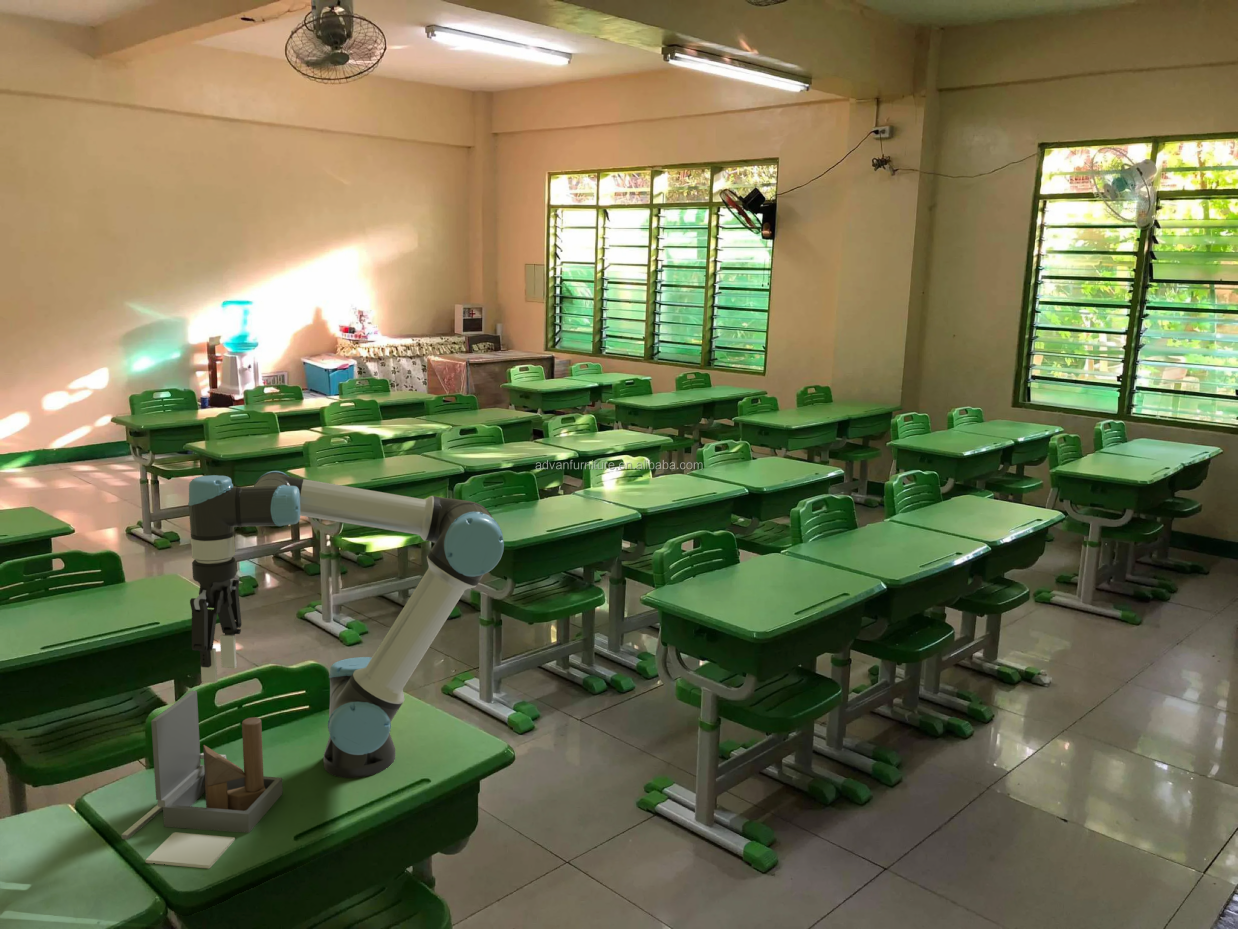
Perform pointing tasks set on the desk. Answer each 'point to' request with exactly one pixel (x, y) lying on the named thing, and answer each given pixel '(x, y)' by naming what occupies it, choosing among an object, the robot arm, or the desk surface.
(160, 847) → the mat
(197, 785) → the case
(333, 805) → the desk surface
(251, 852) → the desk surface
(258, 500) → the robot arm
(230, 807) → the wooden toy pieces
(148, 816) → the rod
